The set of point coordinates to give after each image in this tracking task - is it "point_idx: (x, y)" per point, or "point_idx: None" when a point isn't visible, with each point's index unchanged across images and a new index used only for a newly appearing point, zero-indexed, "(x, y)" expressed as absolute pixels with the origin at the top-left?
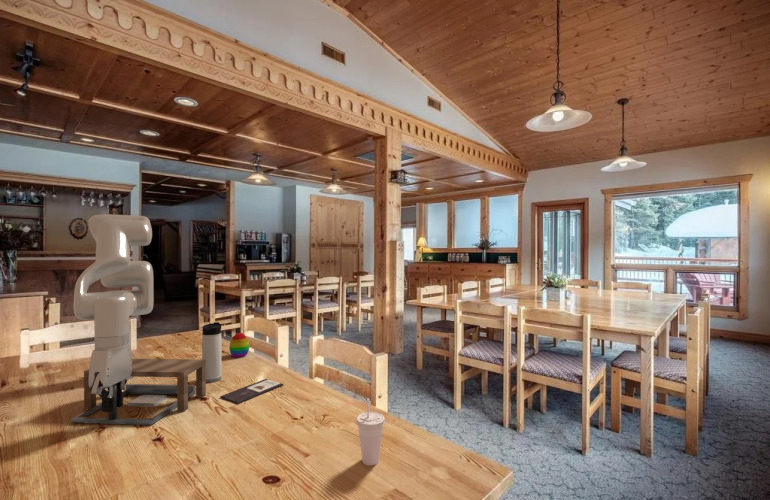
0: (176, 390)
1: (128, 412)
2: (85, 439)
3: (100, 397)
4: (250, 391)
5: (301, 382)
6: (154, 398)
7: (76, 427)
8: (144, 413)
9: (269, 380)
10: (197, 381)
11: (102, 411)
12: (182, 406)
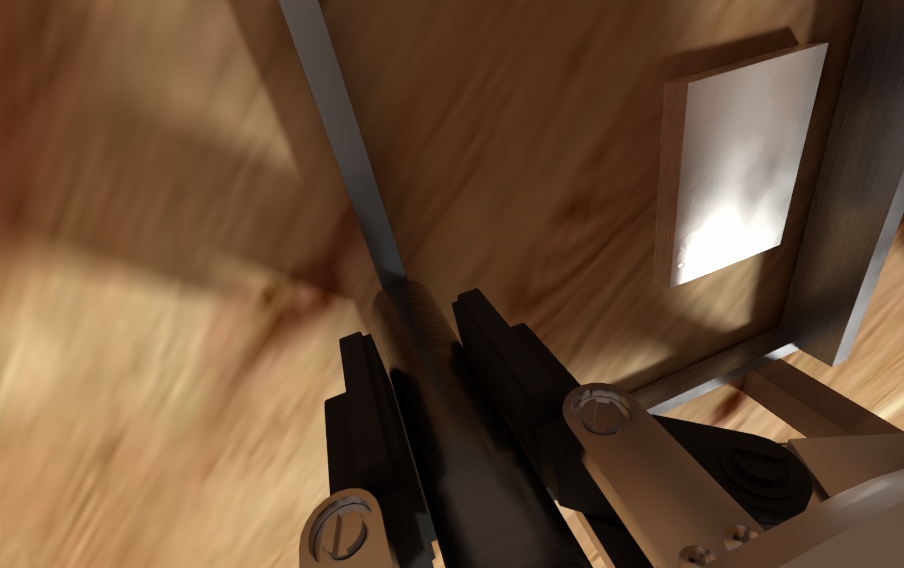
0: (828, 261)
1: (566, 206)
2: (142, 360)
3: (314, 520)
4: None
5: None
6: (744, 216)
7: (207, 40)
8: (565, 318)
9: None
10: None
11: (342, 341)
12: None
